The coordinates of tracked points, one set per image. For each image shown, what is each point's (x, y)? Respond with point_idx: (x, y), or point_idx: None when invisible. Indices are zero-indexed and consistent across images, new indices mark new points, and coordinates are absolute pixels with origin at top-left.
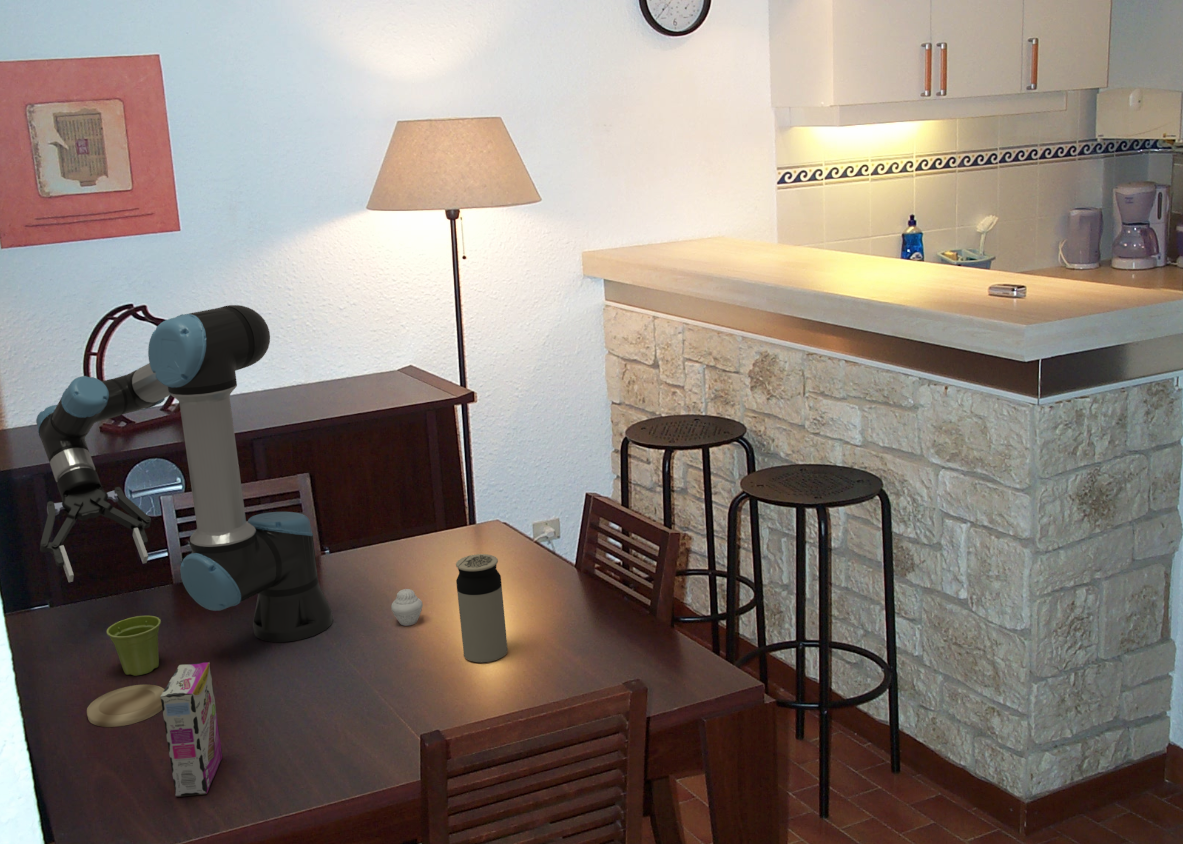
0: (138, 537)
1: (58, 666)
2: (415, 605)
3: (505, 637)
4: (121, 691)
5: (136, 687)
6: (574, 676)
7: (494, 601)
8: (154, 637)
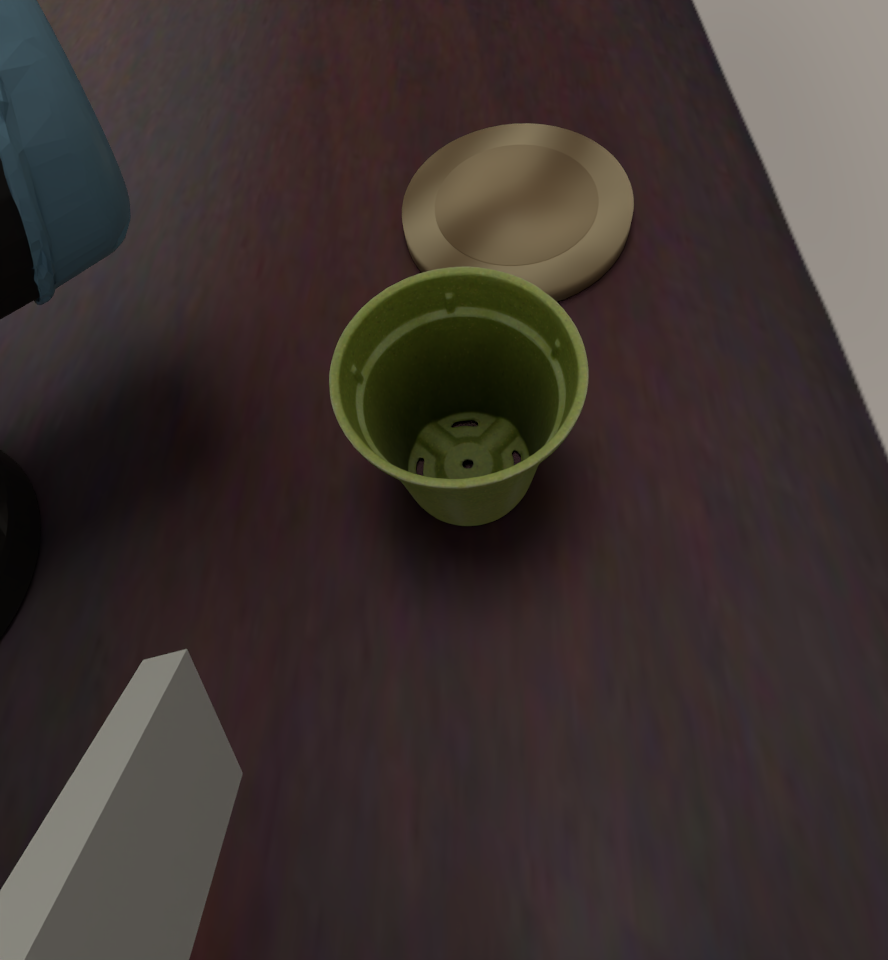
0: (32, 903)
1: (830, 678)
2: None
3: None
4: (534, 270)
5: None
6: None
7: None
8: (383, 355)
